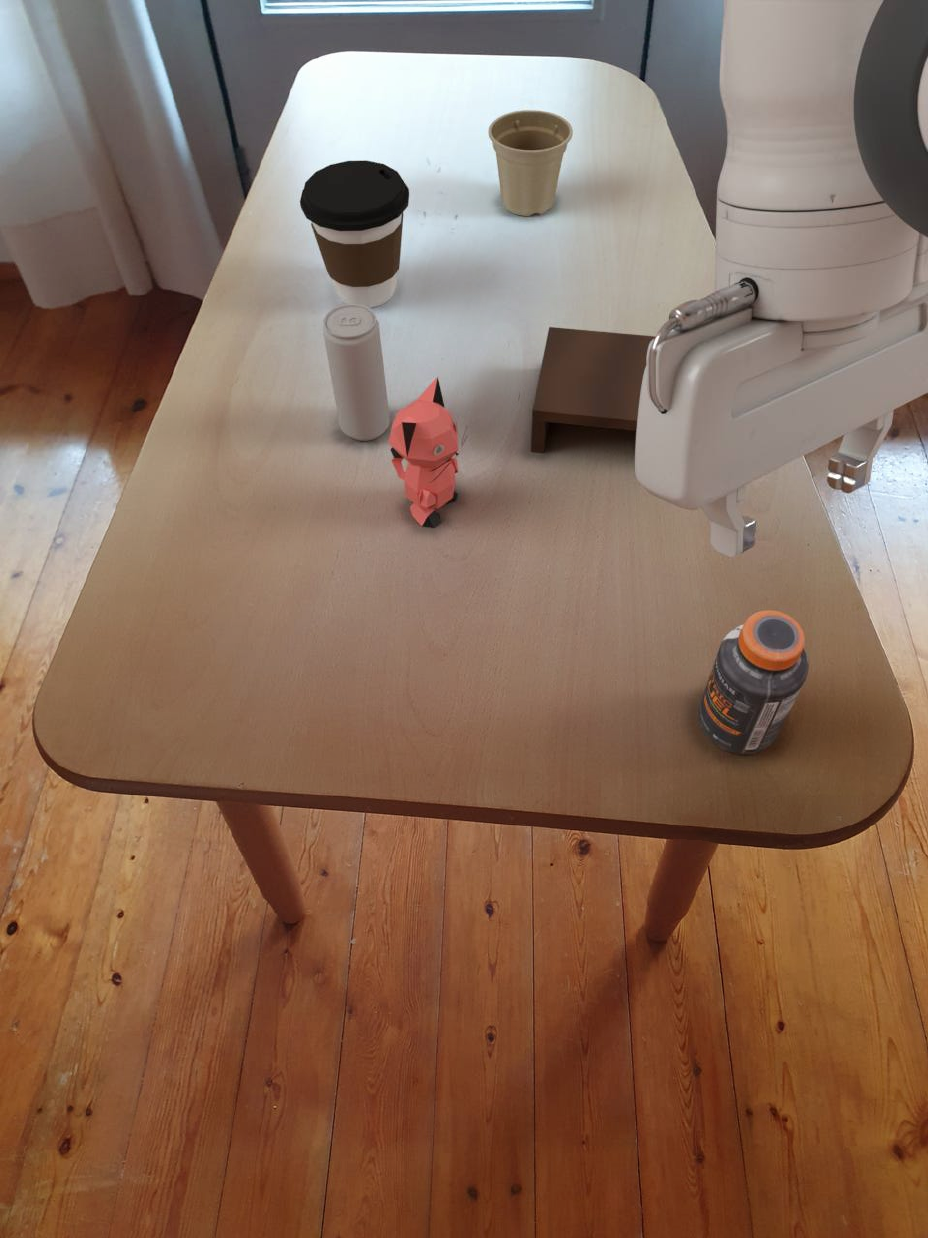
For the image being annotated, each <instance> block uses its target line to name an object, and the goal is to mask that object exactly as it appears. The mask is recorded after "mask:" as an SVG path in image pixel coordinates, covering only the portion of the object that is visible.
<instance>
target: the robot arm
mask: <svg viewBox="0 0 928 1238" xmlns="http://www.w3.org/2000/svg"><path fill="white" fill-rule="evenodd" d="M721 21H722V22H721V23H722V24H721V39H720V60H719V93H720V99H721V102H722V106H723V110H724V115H725V119H726V120H725V121H726V129H727V134H726V135H727V137H726V138H727V140H726V151H725V156H724V161H723V164H722V168H721V171H720V174H719V179H718V182H717V187H716V190H717V191H716V210H715V211H716V214H715V217H716V218H715V256H714V257H715V259H714V262H715V263H714V292H712V293H710V294H709V295H707V296H705V297H702V298H700V299H692V300H688V301H685V302H683V303H681V304H679V305H678V306H676V307H674V308H673V309H672V310H670V313H669V315H668V319H667V321H666V322H665V323H664V324H662V326H661V327H660V328H659V330H658V332H657V334H656V335H655V336H656V337H655V339H653V340H652V341H651V342H650V344H649V346H648V350H647V357H646V367H645V371H644V375H643V380H642V385H641V392H640V400H639V408H638V419H637V430H636V431H635V447H634V448H635V449H634V474H635V478H636V480H637V482H638V483H639V485H640V486H641V487H643V489H644V490H645V491H646V492H648V493H649V494H650V495H652V496H654V497H656V498H658V499H660V500H662V501H665V502H667V503H669V504H671V505H674V506H676V507H679V508H681V509H684V510H688V511H697V510H699V509H701V510H702V512H703V513H704V515H705V516H706V518H707V520H708V521H710V529H709V530H710V532H709V536H710V537H709V543H710V546H711V548H712V549H713V550H714V552H716V553H718V554H721V555H723V556H725V557H727V558H729V559H734V558H736V557H737V556H739V555H741V554H743V553H744V552H747V551H749V550H750V549H752V548H753V547H754V546H755V545H756V538H755V537H754V536H755V534H756V532H757V520H756V519H754V518H751V517H749V516H745V515H742V514H741V511H740V509H739V508H738V505H737V503H741V502H742V501H744V500H745V498H746V485H749V484H751V483H752V482H754V481H757V480H758V479H760V478H763V477H765V476H766V475H769V474H771V473H772V472H774V471H776V470H778V469H780V468H782V467H784V466H786V465H788V464H790V463H792V462H794V461H796V460H798V459H799V458H802V457H804V456H805V455H807V454H810V453H812V452H814V451H816V450H817V449H820V448H821V447H823V446H825V445H827V444H829V443H831V442H833V441H835V440H837V439H839V438H841V437H843V438H842V441H841V443H840V445H839V449H838V452H837V453H836V454H833V455H832V456H830V457H829V458H828V468H827V469H828V473H827V476H826V481H827V484H828V486H829V487H830V488H831V489H833V490H837V491H841V492H842V493H845V494H851V493H853V492H855V491H857V490H858V489H861V488H863V487H865V486H867V485H869V483H870V482H871V477H872V469H873V462H874V458H875V457H876V455H877V454H878V451H879V450H880V448H881V446H882V444H883V442H884V440H885V438H886V436H887V435H888V432H889V431H890V428H891V427H892V424H893V419H894V412H895V411H894V410H896V409H898V408H901V407H902V406H904V405H906V404H907V403H910V402H912V401H914V400H916V399H918V398H920V397H922V396H924V395H926V394H928V0H723V8H722V20H721Z"/></svg>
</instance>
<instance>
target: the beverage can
mask: <svg viewBox="0 0 928 1238" xmlns="http://www.w3.org/2000/svg"><path fill="white" fill-rule="evenodd" d="M322 321H323V325H322V333H323V339H324V344H325V349H326V350H325V351H326V355H327V362H328V369H329V373H330V380H331V385H332V390H333V397H334V402H335V408H336V414H337V418H338V419H337V420H338V425H339V428H340V430H341V431H342V432H343V433H344V434H345V435H346V436H347V437H349V438H351V439H353V440H356V441H360V442H367V441H373V440H376V439H378V438H379V437H381V436H382V435H383V434H384V433H386V431H387V429H388V428H389V427H390V424H391V417H390V409H389V400H388V399H389V398H388V392H387V384H386V374H385V366H384V365H385V364H384V357H383V349H382V340H381V339H382V338H381V331H380V323H379V321H378V319H377V315H376V313H375V311H374V310H373V309H372V308H368V307H366V306H364V305H360V304H346V303H344V304H342V305H337V306H336V307H334V308H332V309H330V310H329V311H327V313H326V314H325V315H324V318H323V320H322Z"/></svg>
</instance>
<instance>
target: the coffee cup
mask: <svg viewBox="0 0 928 1238" xmlns="http://www.w3.org/2000/svg"><path fill="white" fill-rule="evenodd" d="M409 203H410V188H409V187H408V185H407V184H406V183H405V180H404V178H402V176H401V175H400V173H399V171H397V170H396V169H393V168H392V167H390V166H389V165H386V164H384V163H381V162H376V161H371V160H368V159H367V160H345V161H341V162H336V163H332V164H331V163H330V164H328V165H327V166H325V167H323V168H321V169H319V170H316V171H315V172H314V173H313V174H312V175H311V176H310V177H309V178H308V179H307V180H306V181H305V182H304V186H303V189H302V191H301V196H300V199H299V206H300V209H301V211H302V213H303V214H304V217H305V218H306V219H307V220H308V221H310V226H311V228H312V232H313V234H314V237H315V241H316V243H317V246H318V249H319V252H320V255H321V257H322V261H323V264H324V268H325V270H326V272H327V274H328V276H329V277H330V281H331V282H332V285H333V288H334V291H335V293H336V294H337V296H338V298H339V299H340V300H341V301H342V302H343V303H344V304H360V305H364V306H366V307H368V308H370V309H372V308H376V307H380V306H382V305H383V304H385V303H387V302H389V301H390V300H391V298H392V297H393V296H394V294H395V292H396V289H397V284H398V283H397V282H398V271H399V270H400V265H401V253H402V240H403V227H404V226H403V225H404V212H405V210H406V209H407V208H408V207H409Z"/></svg>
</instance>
